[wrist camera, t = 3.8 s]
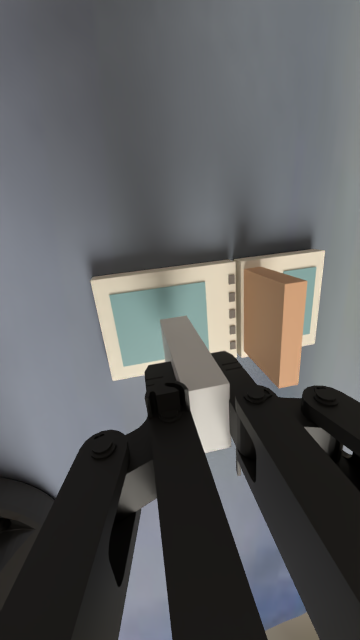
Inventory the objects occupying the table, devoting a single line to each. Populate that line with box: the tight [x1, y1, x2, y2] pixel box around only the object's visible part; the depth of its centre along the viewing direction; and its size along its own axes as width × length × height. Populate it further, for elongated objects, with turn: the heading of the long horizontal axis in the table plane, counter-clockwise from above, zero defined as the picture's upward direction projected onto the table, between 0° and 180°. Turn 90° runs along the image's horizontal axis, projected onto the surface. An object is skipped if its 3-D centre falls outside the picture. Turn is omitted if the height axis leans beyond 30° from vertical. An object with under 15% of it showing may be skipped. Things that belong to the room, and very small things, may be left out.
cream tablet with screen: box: [90, 259, 237, 381], centre depth 17 cm, size 9×7×1 cm
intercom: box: [234, 249, 325, 388], centre depth 16 cm, size 6×7×6 cm
